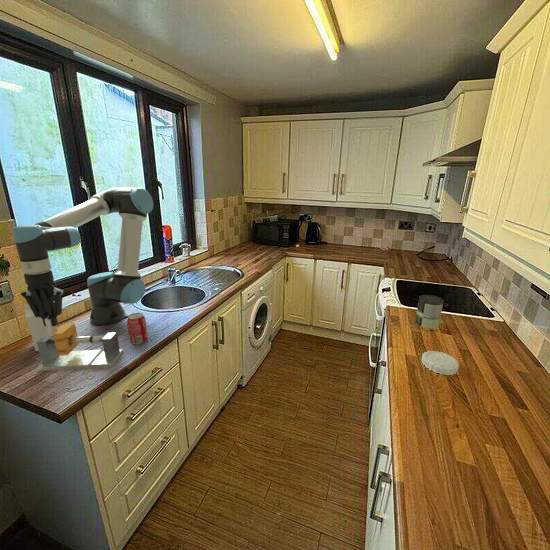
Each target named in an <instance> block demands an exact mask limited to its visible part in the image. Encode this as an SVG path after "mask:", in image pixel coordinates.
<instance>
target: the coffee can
mask: <svg viewBox="0 0 550 550" xmlns="http://www.w3.org/2000/svg"><path fill="white" fill-rule="evenodd" d="M444 303H445V300H444V299H443V297H442V298H441V297H440V296H436V295H433V294H432V295H431V294H422V295H419V296H418V303H417V308H416V309H417V311H416V314H415V321H414V323H415V322H416V324H418V325H419V326H421V327H424V328H430V329H435V328H438V329H439V326H440V321H441V316H442V312H443V306H444Z"/></svg>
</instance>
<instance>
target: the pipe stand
mask: <svg viewBox="0 0 550 550" xmlns="http://www.w3.org/2000/svg"><path fill="white" fill-rule="evenodd" d="M117 333H118V332H115V331H112V332H111V331H110V332H107V333H106V334H104V335H103V334H102V335H93V334H92V335H87V336H83V335H82V336H78V337H69V338H68V342H69V344H70V343H79V344H86V343H87V344H95V343H102V349H88V350H83V349H82V350H72V351H71V352H70V353H69V354H68V355H63V356H58V353H57V349H56V345H55V341H54V337H53V336H49V335H45V336H44V337H43V338H41V339H40V340H39V341H37V345H38V349H39V351H38V353H39V356H40V359H41V360H40V361H41V363H40V364H39V365H38V366H37V370H38V372H42V371H45V372H46V371H59V370H60V371H62V370H79V369H80V370H83V369H97V368H98V369H101V368H113V367H114V365H115V363H117V361H118V360H119V358H120V357H121V356H122V355H123V353H124V349H123V348H120V345H119V339H118V334H117Z"/></svg>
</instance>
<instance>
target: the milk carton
mask: <svg viewBox="0 0 550 550" xmlns="http://www.w3.org/2000/svg"><path fill="white" fill-rule="evenodd" d="M23 307H24V312H25V319H26V322H27V325H28V328H29V332H30V335H31V339H32V343H33V346H34V347H33V348H34V351H35V352H39V349H38V345H37V341H39V340H40V339H41V338H43V337H44V336H45V335H48V331H47V327H46V326H44V323H43V320H42V318H40V317H35V315H34V313H33V312H32V310H31V308H30V306H29V305H28V303H27V304H23ZM48 317H49V316H48Z"/></svg>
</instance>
